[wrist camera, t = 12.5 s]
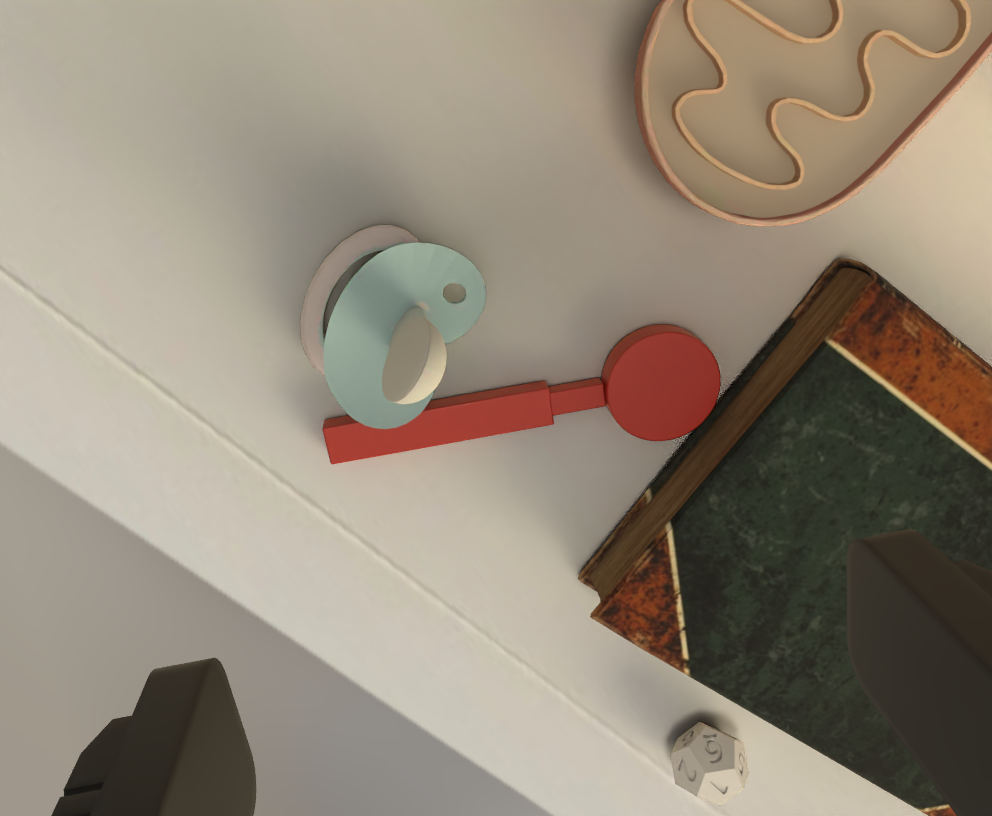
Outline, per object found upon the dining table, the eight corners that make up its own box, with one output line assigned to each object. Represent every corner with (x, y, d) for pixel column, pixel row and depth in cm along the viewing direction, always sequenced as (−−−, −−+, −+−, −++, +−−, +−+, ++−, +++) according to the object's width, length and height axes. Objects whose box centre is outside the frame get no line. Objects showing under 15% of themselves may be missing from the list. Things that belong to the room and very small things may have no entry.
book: (572, 573, 39) (947, 798, 46) (588, 621, 36) (990, 855, 43) (839, 250, 35) (1206, 550, 42) (885, 268, 32) (1275, 592, 39)
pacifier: (272, 354, 34) (409, 424, 36) (240, 409, 28) (405, 490, 30) (360, 187, 32) (501, 267, 34) (345, 208, 27) (516, 305, 28)
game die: (705, 697, 42) (726, 741, 39) (750, 740, 43) (773, 786, 41) (648, 740, 43) (665, 787, 40) (694, 781, 44) (713, 829, 41)
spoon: (340, 487, 36) (338, 501, 35) (315, 384, 35) (312, 394, 34) (714, 419, 37) (724, 430, 36) (707, 314, 35) (717, 322, 34)
